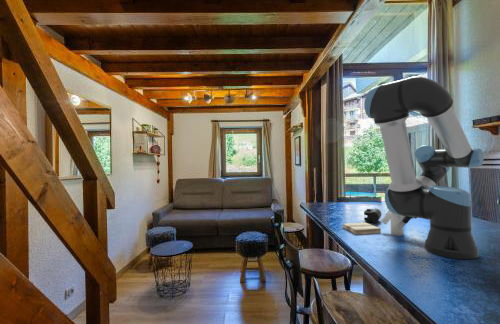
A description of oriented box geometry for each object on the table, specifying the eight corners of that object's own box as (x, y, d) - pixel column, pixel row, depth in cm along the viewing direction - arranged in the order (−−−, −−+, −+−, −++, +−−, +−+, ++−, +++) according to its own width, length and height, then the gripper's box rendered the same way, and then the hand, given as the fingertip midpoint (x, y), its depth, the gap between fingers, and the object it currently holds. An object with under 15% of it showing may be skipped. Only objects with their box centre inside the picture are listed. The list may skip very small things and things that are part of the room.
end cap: (379, 225, 128) (378, 212, 128) (364, 223, 132) (363, 210, 132) (381, 220, 136) (381, 208, 136) (367, 219, 140) (367, 207, 140)
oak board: (380, 232, 114) (380, 228, 114) (356, 234, 113) (356, 230, 113) (365, 226, 126) (365, 222, 126) (343, 227, 125) (343, 223, 125)
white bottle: (406, 235, 110) (405, 201, 110) (396, 235, 109) (395, 202, 109) (398, 232, 115) (397, 199, 115) (388, 232, 114) (387, 200, 114)
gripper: (448, 197, 103) (414, 237, 101) (408, 191, 125) (380, 224, 123) (436, 184, 103) (402, 225, 101) (399, 180, 124) (370, 214, 122)
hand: (390, 224), depth 112 cm, fingers open, 9 cm apart
